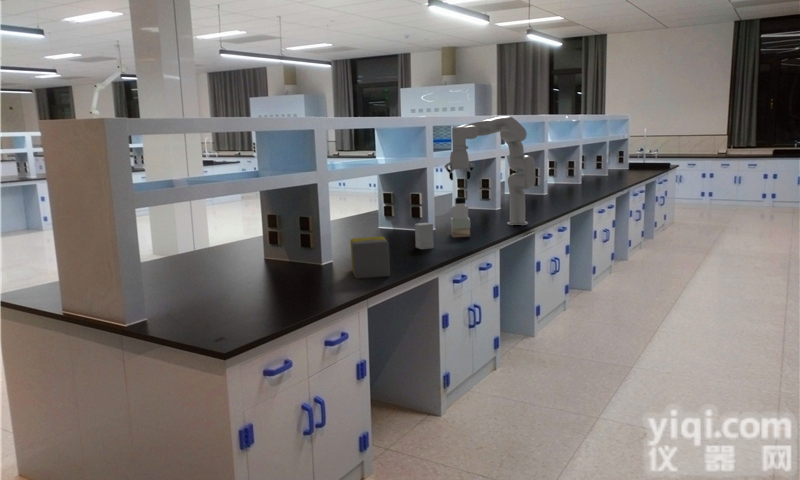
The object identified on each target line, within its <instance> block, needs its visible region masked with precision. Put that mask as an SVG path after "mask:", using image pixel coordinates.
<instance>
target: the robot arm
mask: <svg viewBox="0 0 800 480" xmlns="http://www.w3.org/2000/svg"><path fill="white" fill-rule="evenodd" d="M495 133H499V135H500V138H501V139H502V141H504V142H505V144H506V145H507V147H508V150H509V168H510V170H511V171H515V173H512V174H510V175H509V176H508V177H507V185H508V193H509V221H508V222H506V223H507V225H508V226H513V225H521V226H526V225H528V224H529V222H528V221H526V195H525V191H524V190H532V189H534V187H535V186H536V180H537V179H536V160H535V159H534V157H533V156H531V155H525V151H524V145H523V143H522V142H523V141H525V140H526V139H527V134H528V133H527V129H526V128H525V127H524V126H523V125H522V124H521V123H520V122H519V121H518V120H517V119H515V118H514V117H513V116H509V115H507V116H496V117H493V118H488V119H485V120H479V121H476V122H475V121H474V122H471V123H466V124H462V125H459V126H453V127H452V128H451V143H452V144H451V145H452V148H451V149H452V150H451V151H450V157H449V158H450V159H449V162H448V163H446V164H445V165H444V168H445V170H446V172H447V173H448V174H449V175H448V177H449V180H450V181H453V180H454V173H453V172H454V171H455V170H466V179H467V180H470V178H471V172H472V170H474V167H475V163H473V162H472V161H469V154H468V151H467V150H468V149H469V145H467V144H466V143H467V141H466V140H474V139H476V138H478V136H479V137H482V136H489V135H492V134H495ZM519 172H520V173H519ZM521 172H522V173H521Z"/></svg>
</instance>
